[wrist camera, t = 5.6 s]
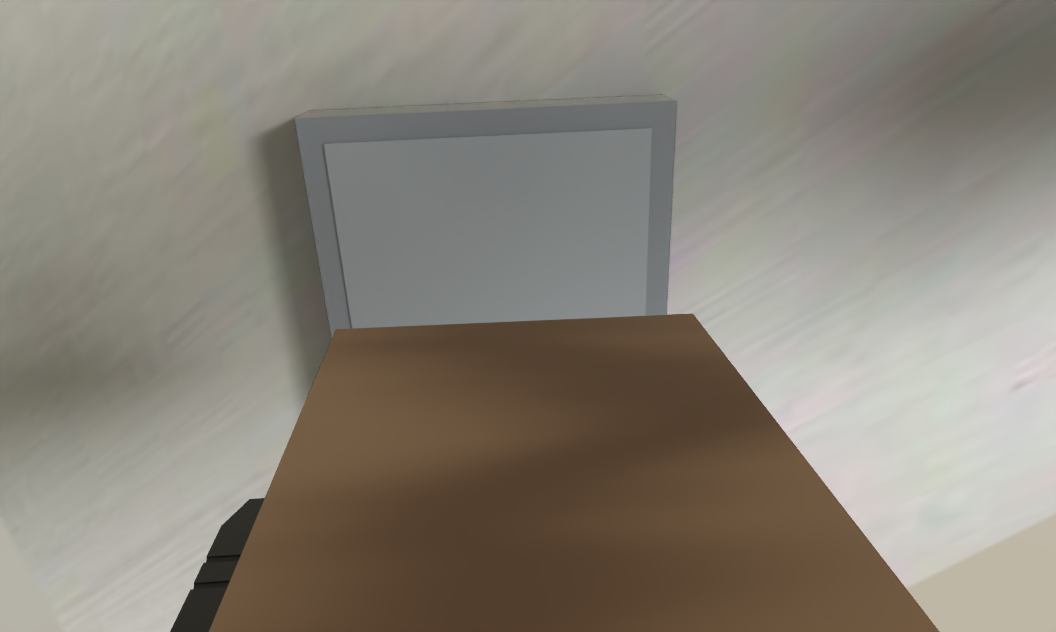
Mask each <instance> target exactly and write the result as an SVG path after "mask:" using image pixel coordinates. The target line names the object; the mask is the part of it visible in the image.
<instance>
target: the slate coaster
mask: <svg viewBox="0 0 1056 632" xmlns="http://www.w3.org/2000/svg"><path fill="white" fill-rule="evenodd" d="M676 111H677V100H674V99H672V98H669V97H667V96H665V95H662V94H658V95H637V96H615V97H593V98H571V99H549V100H527V101H506V102H484V103H462V104H440V105H418V106H396V107H375V108H353V109H331V110H309V111H307V112H305V113H304V114H302V115H300V116H298V117H296V118H294V120H295V125H296V131H297V137H298V143H299V149H300V155H301V161H302V167H303V173H304V179H305V185H306V191H307V196H308V202H309V208H310V214H311V220H312V226H313V232H314V238H315V244H316V250H317V256H318V262H319V267H320V273H321V279H322V285H323V291H324V297H325V303H326V309H327V315H328V321H329V327H330V333H331V339H332V337H333V335H334V332H335V330H336V329H351V328H375V327H398V326H421V325H444V324H467V323H490V322H513V321H537V320H560V319H583V318H606V317H629V316H652V315H667V298H668V278H669V257H670V236H671V215H672V194H673V174H674V153H675V132H676Z"/></svg>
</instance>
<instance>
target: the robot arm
mask: <svg viewBox="0 0 1056 632" xmlns="http://www.w3.org/2000/svg"><path fill="white" fill-rule="evenodd" d="M264 499H265V498H261V499H249V500H248V501H247V502H246V503H245V504H244V505H243V506H242V507H241V508H240V509H239V510H238V511H237V512H236V513H235V514H234V515H232V516H231V517H230V518H229V519H228V520H227V521H226V522H225V523H224V524H223V525H222V526H221V528H220V530H219V532H218V534H217V536H216V538H215V540H214V542H213V544H212V547H211V549H210V551H209V553H208V555H207V561H206V563H203V565H202V567H201V569H200V571H199V573H198V575H197V578H196V580H195V582H194V589H193V590H190V592H189V594H188V596H187V598H186V600H185V602H184V604H183V606H182V608H181V611H180V613H179V615H178V617H177V619H176V621H175V623H174V625H173V627H172V629H171V631H170V632H209V630H210V628H211V625H212V623H213V620H214V618H215V616H216V613H217V611H218V609H219V606H220V604H221V601H222V599H223V597H224V594H225V592H226V590H227V587H228V585H229V582H230V580H231V578H232V575H233V573H234V570H235V568H236V566H237V563H238V561H239V559H240V556H241V554H242V551H243V549H244V547H245V544H246V542H247V540H248V537H249V535H250V532H251V530H252V528H253V525H254V523H255V520H256V518H257V516H258V513H259V511H260V509H261V506H262V504H263V501H264Z"/></svg>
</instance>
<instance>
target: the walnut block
mask: <svg viewBox="0 0 1056 632" xmlns="http://www.w3.org/2000/svg"><path fill="white" fill-rule="evenodd" d="M209 632H939V631H938V629H937V628H936V627H935V625H934V624H933V623H932V621H931V620H930V619H929V618H928V616H927V615H926V614H925V612H924V611H923V610H922V609H921V607H920V606H919V605H918V603H917V602H916V601H915V600H914V599H913V597H912V596H911V594H910V593H909V592H908V590H907V589H906V588H905V587H904V585H903V584H902V583H901V581H900V580H899V579H898V578H897V576H896V575H895V574H894V572H893V571H892V570H891V569H890V567H889V566H888V565H887V563H886V562H885V561H884V560H883V558H882V557H881V556H880V554H879V553H878V552H877V551H876V549H875V548H874V547H873V545H872V544H871V543H870V541H869V540H868V539H867V538H866V536H865V535H864V534H863V532H862V531H861V530H860V529H859V527H858V526H857V525H856V523H855V522H854V521H853V520H852V518H851V517H850V516H849V514H848V513H847V512H846V511H845V509H844V508H843V507H842V505H841V504H840V503H839V502H838V500H837V499H836V498H835V496H834V495H833V494H832V493H831V491H830V490H829V489H828V487H827V486H826V485H825V483H824V482H823V481H822V480H821V478H820V477H819V476H818V474H817V473H816V472H815V471H814V469H813V468H812V467H811V465H810V464H809V463H808V462H807V460H806V459H805V458H804V456H803V455H802V454H801V453H800V451H799V450H798V449H797V447H796V446H795V445H794V444H793V442H792V441H791V440H790V438H789V437H788V436H787V435H786V433H785V432H784V431H783V429H782V428H781V427H780V425H779V424H778V423H777V422H776V420H775V419H774V418H773V416H772V415H771V414H770V413H769V411H768V410H767V409H766V407H765V406H764V405H763V404H762V402H761V401H760V400H759V398H758V397H757V396H756V395H755V393H754V392H753V391H752V389H751V388H750V387H749V386H748V384H747V383H746V382H745V380H744V379H743V378H742V377H741V375H740V374H739V373H738V371H737V370H736V369H735V367H734V366H733V365H732V364H731V362H730V361H729V360H728V358H727V357H726V356H725V355H724V353H723V352H722V351H721V349H720V348H719V347H718V346H717V344H716V343H715V342H714V340H713V339H712V338H711V337H710V335H709V334H708V333H707V331H706V330H705V329H704V328H703V326H702V325H701V324H700V322H699V321H698V320H697V319H696V317H695V316H694V315H693V314H675V315H652V316H629V317H606V318H583V319H560V320H537V321H513V322H490V323H467V324H444V325H421V326H398V327H375V328H351V329H336V330H335V332H334V335H333V337H332V340H331V342H330V344H329V347H328V349H327V351H326V354H325V356H324V359H323V361H322V363H321V366H320V368H319V370H318V373H317V375H316V378H315V380H314V382H313V385H312V387H311V390H310V392H309V394H308V397H307V399H306V401H305V404H304V406H303V409H302V411H301V413H300V416H299V418H298V420H297V423H296V425H295V428H294V430H293V432H292V435H291V437H290V440H289V442H288V444H287V447H286V449H285V451H284V454H283V456H282V459H281V461H280V463H279V466H278V468H277V470H276V473H275V475H274V478H273V480H272V482H271V485H270V487H269V490H268V492H267V494H266V497H265V499H264V501H263V504H262V506H261V509H260V511H259V513H258V516H257V518H256V520H255V523H254V525H253V528H252V530H251V532H250V535H249V537H248V540H247V542H246V544H245V547H244V549H243V551H242V554H241V556H240V559H239V561H238V563H237V566H236V568H235V570H234V573H233V575H232V578H231V580H230V582H229V585H228V587H227V590H226V592H225V594H224V597H223V599H222V601H221V604H220V606H219V609H218V611H217V613H216V616H215V618H214V620H213V623H212V625H211V628H210V630H209Z"/></svg>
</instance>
